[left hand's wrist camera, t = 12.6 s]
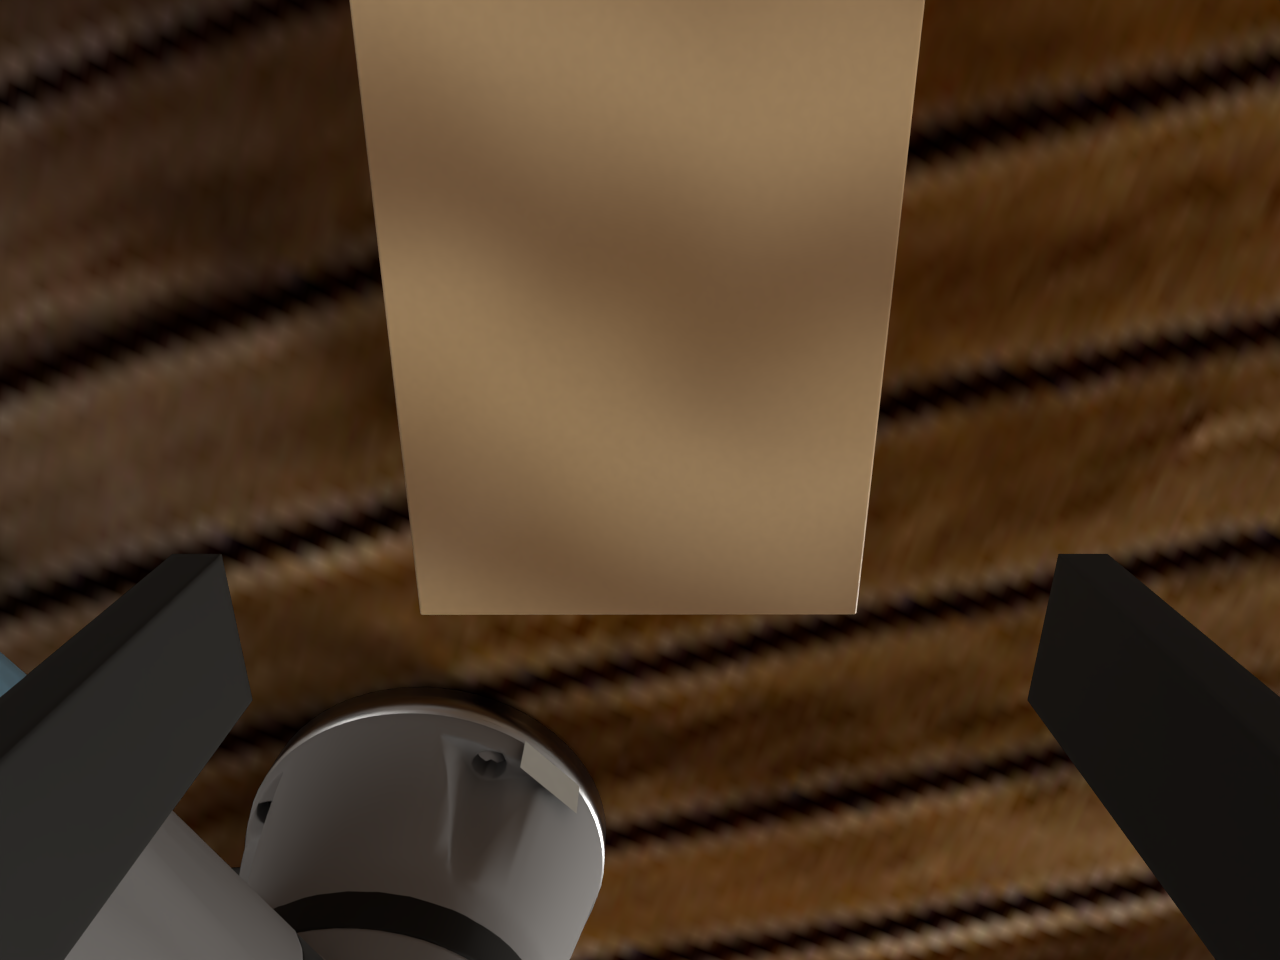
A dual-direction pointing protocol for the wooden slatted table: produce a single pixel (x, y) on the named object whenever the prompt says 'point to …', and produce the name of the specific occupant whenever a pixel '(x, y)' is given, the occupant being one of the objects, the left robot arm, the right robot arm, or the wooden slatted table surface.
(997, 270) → the wooden slatted table surface
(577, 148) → the cabinet
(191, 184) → the wooden slatted table surface
